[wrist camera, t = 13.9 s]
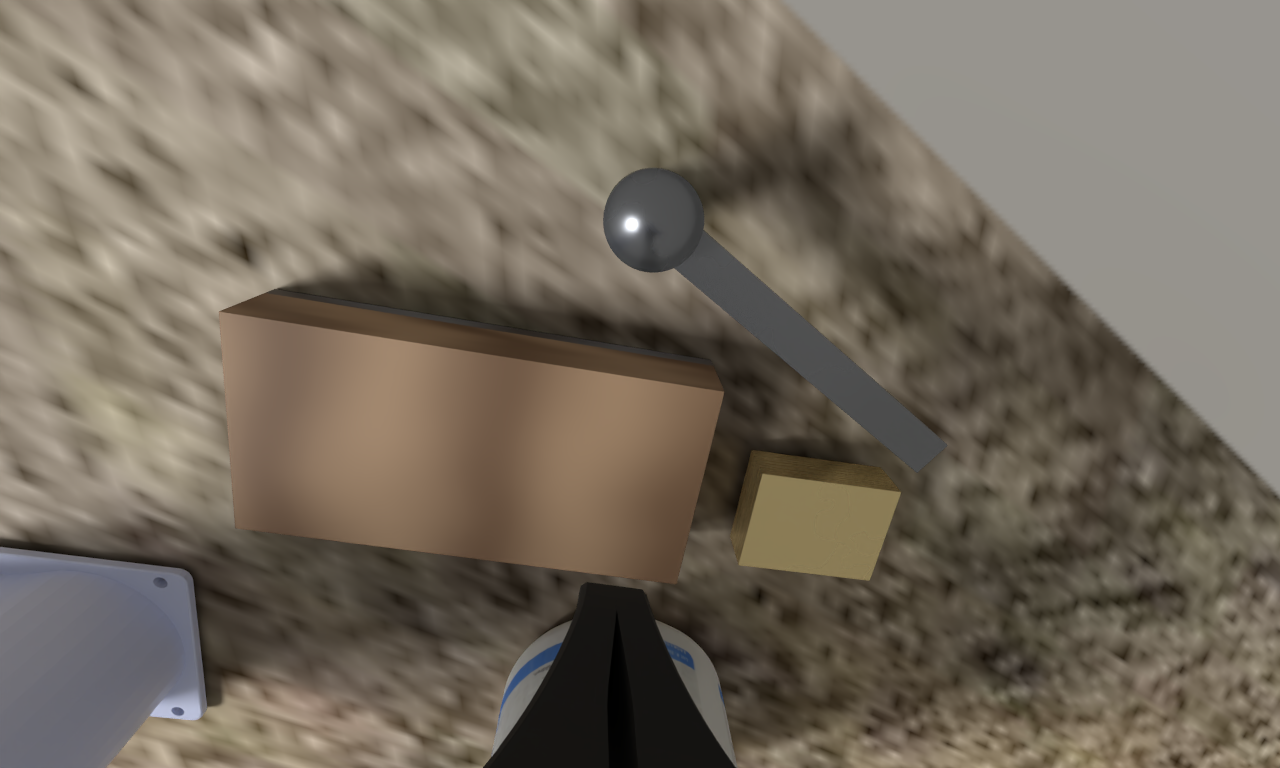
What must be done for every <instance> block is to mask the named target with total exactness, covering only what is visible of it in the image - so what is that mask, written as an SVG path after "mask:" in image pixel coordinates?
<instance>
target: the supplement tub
mask: <svg viewBox="0 0 1280 768" xmlns="http://www.w3.org/2000/svg"><path fill="white" fill-rule="evenodd" d="M655 621H656V624H657V626H658V629H659V631H660V633H661V636H662V638H663V641H664V643H665V645H666V647H667V650H668V652H669V654H670V656H671V658H672V660H673V662H674V664H675V666H676V668H677V671H678V673H679V675H680V677H681V679H682V681H683V683H684V684H685V686H686V688H687V690H688V692H689V694H690V696H691V697H692V699H693V701H694V703H695V705H696V706H697V708H698V710H699V712H700V713H701V715H702V717H703V718H704V720H705V722H706V723H707V725H708V727H709V728H710V730H711V731H712V733H713V735H714V736H715V738H716V739H717V741H718V742H719V744H720V745H721V747H722V748H723V750H724V751H725V753H726V754H727V756H728V757H729V758H730V760H731V761H732V763H733V764H734V765H735V767H736V768H737V764H736V759H735V754H734V749H733V745H732V739H731V734H730V729H729V724H728V720H727V715H726V710H725V705H724V700H723V696H722V692H721V687H720V682H719V679H718V675H717V673H716V670H715V668H714V666H713V664H712V662H711V661H710V659H709V657H708V656H707V655H706V653H705V652H704V651H703V650H702V648H701V647H700V646H699V645H698V644H697V643H696V642H694V641H693V640H692V639H691V638H690V637H688V636H687V635H685V634H684V633H682V632H681V631H679V630H677V629H675V628H673V627H671V626H669V625H667V624H664V623H662V622H660V621H657V620H655ZM571 622H572V620H571V621H568V622H566V623H563V624H561V625H559V626H557V627H555V628H553V629H551V630H549V631H548V632H546V633H545V634H543V635H542V636H540V637H539V638H538V639H536V640H535V641H534V642H533V643H532V644H531V645H530V646H529V647H528V648H527V649H526V650H525V651H524V652H523V654H522V655H521V656H520V657H519V659H518V660H517V662H516V664H515V665H514V667H513V668H512V671H511V673H510V675H509V677H508V680H507V683H506V687H505V690H504V696H503V701H502V705H501V710H500V715H499V720H498V726H497V731H496V736H495V740H494V745H493V750H492V755H491V757H492V756H493V754H494V753H495V752H496V750H497V749H498V748H499V746H500V745H501V743H502V742H503V741H504V739H505V738H506V737H507V735H508V734H509V732H510V731H511V730H512V728H513V727H514V725H515V724H516V723H517V721H518V720H519V718H520V717H521V715H522V714H523V712H524V711H525V709H526V707H527V706H528V704H529V703H530V701H531V700H532V698H533V696H534V695H535V693H536V691H537V690H538V688H539V686H540V685H541V683H542V681H543V679H544V677H545V676H546V674H547V672H548V670H549V668H550V667H551V665H552V663H553V661H554V659H555V657H556V655H557V653H558V651H559V649H560V647H561V645H562V643H563V640H564V638H565V636H566V634H567V632H568V629H569V627H570V624H571Z"/></svg>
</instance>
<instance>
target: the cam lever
mask: <svg viewBox="0 0 1280 768" xmlns="http://www.w3.org/2000/svg"><path fill="white" fill-rule="evenodd" d="M603 224H604V232H605V236H606V239H607V242H608V244H609V246H610V248H611V249H612V251H613V252H614V253H615V255H616V256H617V257H618V258H619V259H620V260H621V261H622V262H624V263H625V264H627V265H628V266H630V267H632V268H634V269H637V270H640V271H644V272H662V271H667V270H670V269H672V268H675V269H676V270H677V271H678V272H679V273H681V274H682V275H683V276H684V277H685V278H687V279H688V280H689V281H690V282H691V283H693V284H694V285H695V286H696V287H697V288H698V289H700V290H701V291H702V292H703V293H704V294H706V295H707V296H708V297H709V298H710V299H711V300H713V301H714V302H715V303H716V304H717V305H719V306H720V307H721V308H722V309H723V310H725V311H726V312H727V313H728V314H729V315H730V316H732V317H733V318H734V319H735V320H736V321H738V322H739V323H740V324H741V325H742V326H743V327H745V328H746V329H747V330H748V331H749V332H751V333H752V334H753V335H754V336H755V337H757V338H758V339H759V340H760V341H761V342H762V343H764V344H765V345H766V346H767V347H768V348H770V349H771V350H772V351H773V352H774V353H775V354H777V355H778V356H779V357H780V358H781V359H783V360H784V361H785V362H786V363H787V364H789V365H790V366H791V367H792V368H793V369H794V370H796V371H797V372H798V373H799V374H800V375H802V376H803V377H804V378H805V379H806V380H807V381H809V382H810V383H811V384H812V385H813V386H815V387H816V388H817V389H818V390H819V391H821V392H822V393H823V394H824V395H825V396H826V397H828V398H829V399H830V400H831V401H832V402H834V403H835V404H836V405H837V406H838V407H839V408H841V409H842V410H843V411H844V412H845V413H847V414H848V415H849V416H850V417H851V418H853V419H854V420H855V421H856V422H857V423H858V424H860V425H861V426H862V427H863V428H864V429H866V430H867V431H868V432H869V433H870V434H871V435H873V436H874V437H875V438H876V439H877V440H879V441H880V442H881V443H882V444H883V445H885V446H886V447H887V448H888V449H889V450H890V451H892V452H893V453H894V454H895V455H896V456H898V457H899V458H900V459H901V460H902V461H903V462H905V463H906V464H907V465H908V466H909V467H911V468H912V469H913V470H914V471H915V472H917V473H918V472H919V471H920V470H921V469H922V468H923V467H924V466H925V465H926V464H928V463H929V462H930V461H931V460H932V459H933V458H934V457H935V456H936V455H938V454H939V453H940V452H941V451H942V450H943V449H944V448H945V447H947V446H948V445H947V444H946V443H945V442H944V441H942V440H941V439H940V438H939V437H938V436H937V435H936V434H935V433H934V432H933V431H931V430H930V429H929V428H928V427H927V426H926V425H925V424H924V423H922V422H921V421H920V420H919V419H918V418H917V417H916V416H914V415H913V414H912V413H911V412H910V411H909V410H908V409H907V408H905V407H904V406H903V405H902V404H901V403H900V402H899V401H897V400H896V399H895V398H894V397H893V396H892V395H891V394H889V393H888V392H887V391H886V390H885V389H884V388H883V387H882V386H880V385H879V384H878V383H877V382H876V381H875V380H874V379H872V378H871V377H870V376H869V375H868V374H867V373H866V372H864V371H863V370H862V369H861V368H860V367H859V366H858V365H857V364H855V363H854V362H853V361H852V360H851V359H850V358H849V357H847V356H846V355H845V354H844V353H843V352H842V351H841V350H839V349H838V348H837V347H836V346H835V345H834V344H833V343H832V342H830V341H829V340H828V339H827V338H826V337H825V336H824V335H822V334H821V333H820V332H819V331H818V330H817V329H816V328H814V327H813V326H812V325H811V324H810V323H809V322H808V321H807V320H805V319H804V318H803V317H802V316H801V315H800V314H799V313H797V312H796V311H795V310H794V309H793V308H792V307H791V306H789V305H788V304H787V303H786V302H785V301H784V300H783V299H782V298H780V297H779V296H778V295H777V294H776V293H775V292H774V291H772V290H771V289H770V288H769V287H768V286H767V285H766V284H764V283H763V282H762V281H761V280H760V279H759V278H758V277H757V276H755V275H754V274H753V273H752V272H751V271H750V270H749V269H747V268H746V267H745V266H744V265H743V264H742V263H741V262H739V261H738V260H737V259H736V258H735V257H734V256H733V255H732V254H730V253H729V252H728V251H727V250H726V249H725V248H724V247H722V246H721V245H720V244H719V243H718V242H717V241H716V240H714V239H713V238H712V237H711V236H710V235H709V234H708V233H707V232H705V231H704V230H703V228H704V211H703V207H702V203H701V200H700V198H699V196H698V194H697V192H696V191H695V189H694V188H693V187H692V185H691V184H690V183H689V182H688V181H687V180H685V179H684V178H683V177H681V176H680V175H678V174H676V173H674V172H671V171H669V170H666V169H662V168H645V169H640V170H637V171H635V172H632V173H630V174H629V175H627V176H626V177H624V178H623V179H622V180H621V181H619V183H618V184H617V185H616V186H615V187H614V189H613V190H612V192H611V193H610V195H609V197H608V200H607V203H606V206H605V210H604V218H603Z"/></svg>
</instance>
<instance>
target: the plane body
mask: <svg viewBox="0 0 1280 768" xmlns="http://www.w3.org/2000/svg"><path fill="white" fill-rule="evenodd" d="M219 320H220V334H221V347H222V360H223V373H224V386H225V399H226V412H227V426H228V439H229V452H230V465H231V478H232V491H233V504H234V517H235V528H237V529H245V530H253V531H261V532H268V533H276V534H284V535H292V536H300V537H308V538H316V539H324V540H331V541H339V542H347V543H355V544H363V545H371V546H379V547H387V548H394V549H402V550H410V551H418V552H426V553H434V554H442V555H450V556H457V557H465V558H473V559H481V560H489V561H497V562H505V563H513V564H520V565H528V566H536V567H544V568H552V569H560V570H568V571H576V572H583V573H591V574H599V575H607V576H615V577H623V578H631V579H639V580H646V581H654V582H662V583H670V584H677V580H678V576H679V572H680V568H681V564H682V560H683V556H684V552H685V548H686V544H687V540H688V536H689V532H690V528H691V524H692V520H693V516H694V512H695V508H696V504H697V500H698V496H699V492H700V488H701V484H702V480H703V476H704V472H705V468H706V464H707V460H708V456H709V452H710V448H711V444H712V440H713V436H714V432H715V428H716V424H717V420H718V416H719V412H720V408H721V404H722V400H723V396H724V389H723V387H722V385H721V382H720V380H719V378H718V375H717V373H716V371H715V368H714V366H713V364H712V361H711V360H707V359H701V358H695V357H688V356H682V355H676V354H670V353H664V352H658V351H652V350H646V349H639V348H633V347H627V346H621V345H615V344H609V343H603V342H597V341H590V340H584V339H578V338H572V337H566V336H560V335H554V334H548V333H542V332H535V331H529V330H523V329H517V328H511V327H505V326H499V325H493V324H486V323H480V322H474V321H468V320H462V319H456V318H450V317H444V316H437V315H431V314H425V313H419V312H413V311H407V310H401V309H395V308H389V307H382V306H376V305H370V304H364V303H358V302H352V301H346V300H340V299H333V298H327V297H321V296H315V295H309V294H303V293H297V292H291V291H284V290H278V289H274V290H271V291H269V292H266V293H264V294H261V295H259V296H256V297H254V298H251V299H249V300H247V301H244V302H242V303H239V304H237V305H234V306H232V307H229V308H227V309H224V310H222V311H219Z"/></svg>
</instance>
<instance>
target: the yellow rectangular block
mask: <svg viewBox="0 0 1280 768" xmlns="http://www.w3.org/2000/svg"><path fill="white" fill-rule="evenodd" d="M900 495H901V491H900V490H899V489H898V488H897V486H896V485H895V484H894V483H893V482H892V481H891V479H890V478H889V477H888V476H887V475H886V473H885V472H884V471H883V470H882V469H881V468H880V467H873V466H866V465H859V464H851V463H844V462H836V461H829V460H822V459H814V458H807V457H800V456H792V455H785V454H777V453H770V452H763V451H755V450H752V451H751V455H750V459H749V463H748V467H747V471H746V475H745V479H744V483H743V487H742V491H741V495H740V499H739V503H738V507H737V511H736V515H735V519H734V523H733V527H732V531H731V535H730V537H731V541H732V544H733V548H734V551H735V555H736V558H737V562H738V565H742V566H750V567H758V568H767V569H775V570H784V571H792V572H800V573H809V574H817V575H826V576H834V577H842V578H851V579H859V580H868V581H870V578H871V576H872V573H873V570H874V567H875V564H876V562H877V559H878V556H879V553H880V550H881V548H882V545H883V542H884V539H885V536H886V534H887V531H888V528H889V525H890V523H891V520H892V517H893V514H894V511H895V509H896V506H897V503H898V500H899V497H900Z"/></svg>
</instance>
